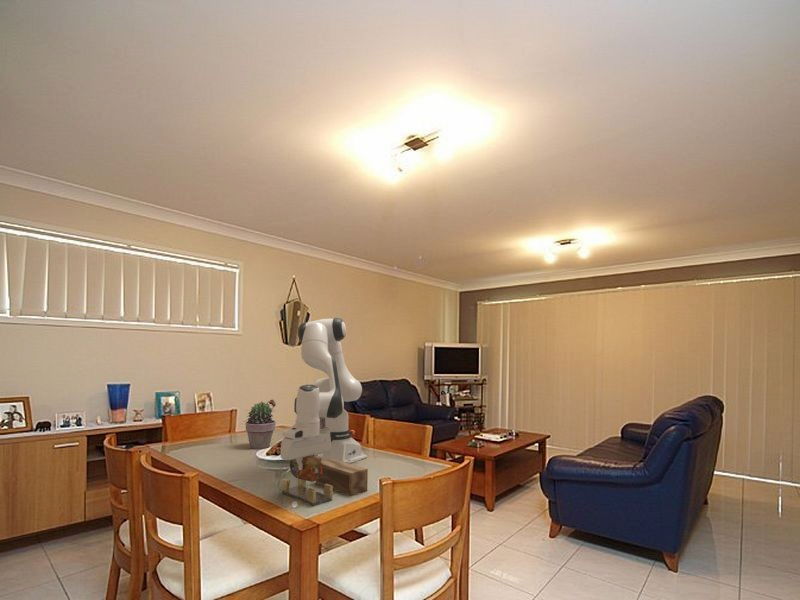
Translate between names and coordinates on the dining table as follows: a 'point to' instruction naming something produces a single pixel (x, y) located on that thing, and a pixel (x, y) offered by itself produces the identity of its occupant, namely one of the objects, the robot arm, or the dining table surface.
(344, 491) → the brown wooden block
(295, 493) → the grey pegged base
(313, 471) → the brown curved piece
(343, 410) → the robot arm
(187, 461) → the dining table surface
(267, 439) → the potted plant
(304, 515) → the dining table surface
